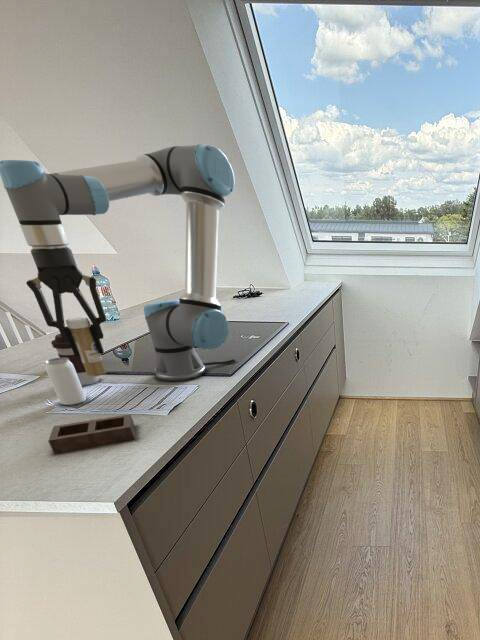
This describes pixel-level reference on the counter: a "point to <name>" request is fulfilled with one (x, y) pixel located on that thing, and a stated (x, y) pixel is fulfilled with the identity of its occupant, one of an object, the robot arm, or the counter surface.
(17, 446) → the counter surface
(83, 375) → the coffee cup
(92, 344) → the sprinkles bottle
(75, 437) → the holder
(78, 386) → the can
